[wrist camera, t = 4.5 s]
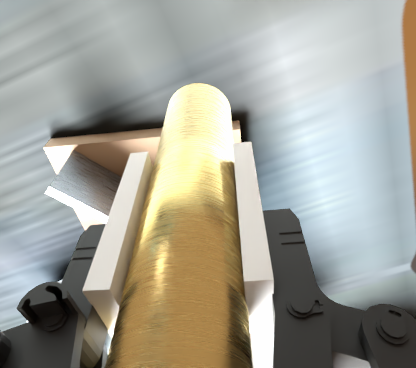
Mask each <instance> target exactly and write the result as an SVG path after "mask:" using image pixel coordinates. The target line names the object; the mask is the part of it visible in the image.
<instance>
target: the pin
mask: <svg viewBox="0 0 416 368" xmlns="http://www.w3.org/2000/svg"><path fill="white" fill-rule="evenodd" d="M233 143H234V142H233V130H232V118H231V108H230V104H229V102H228V100H227V98H226V96H225V95H224V94H223V93H222V92H221V91H220V90H218V89H217V88H215V87H213V86H211V85H208V84H204V83H193V84H189V85H186V86H184V87H182V88H180V89H179V90H177V91H176V92H175V93H174V94H173V96H172V97H171V99H170V101H169V104H168V108H167V112H166V116H165V120H164V125H163V129H162V133H161V137H160V141H159V145H158V149H157V154H156V158H155V162H154V166H153V170H152V174H151V178H150V182H149V187H148V191H147V195H146V199H145V203H144V207H143V211H142V216H141V220H140V224H139V228H138V232H137V236H136V240H135V245H134V249H133V253H132V257H131V261H130V265H129V269H128V274H127V278H126V282H125V286H124V290H123V294H122V298H121V303H120V307H119V311H118V315H117V319H116V323H115V327H114V332H113V336H112V340H111V344H110V348H109V352H108V356H107V360H106V365H105V368H253V362H252V350H251V339H250V327H249V316H248V307H247V304H246V300H245V289H244V277H243V265H242V253H241V240H240V228H239V215H238V203H237V191H236V178H235V166H234V154H233Z"/></svg>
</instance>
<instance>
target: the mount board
mask: <svg viewBox="0 0 416 368" xmlns="http://www.w3.org/2000/svg"><path fill="white" fill-rule="evenodd" d="M162 129H163V128H156V129H145V130H135V131H125V132H114V133H104V134H93V135H83V136H73V137H62V138H52V139H50V140H49V141H48V142H47V144H46V145H45V146H44V147H43V148H44V150H45V152H46V154H47V156H48V158H49V160H50V162H51V164H52V166H53V168H54V170H55V172H56V174H58V173H59V171H60V169H61V168H62V166H63V165H64V163H65V162H66V160H67V159H68V157H69V156H70V154H71V153H72V151H73V150H75V151H77V152H79V153H81V154H82V155H84V156H86V157H87V158H89V159H91V160H93V161H94V162H96V163H98V164H100V165H101V166H103V167H105V168H107V169H108V170H110V171H112V172H114V173H115V174H117V175H119V176H121V177H122V176H123V173H124V170H125V167H126V165H127V162H128V159H129V156H130V153H138V152H148V153H149V157H150V160H151V164H152V167H153V166H154V162H155V158H156V154H157V149H158V145H159V141H160V137H161V133H162ZM232 130H233V142H234V143H241V133H240V122H239V121H232ZM74 210H75V212H76V214H77V216H78V218H79V220H80V222H81V224H82V226H83V228H84V230H85V231H86V229H87V228H88V227H89V226H90V225H97V224H105V223H103V222H101V221H99V220H97V219H95V218H93V217H91V216H89V215H87V214H85V213H83V212H81V211H79V210H77V209H75V208H74Z"/></svg>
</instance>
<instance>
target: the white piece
mask: <svg viewBox="0 0 416 368" xmlns="http://www.w3.org/2000/svg"><path fill="white" fill-rule="evenodd" d="M121 179H122V177H121V176H119V175H117V174H115V173H114V172H112V171H110V170H108V169H107V168H105V167H103V166H101V165H100V164H98V163H96V162H94V161H93V160H91V159H89V158H87V157H86V156H84V155H82V154H81V153H79V152H77V151H75V150H73V151H72V153H71V154H70V156H69V157H68V159H67V160H66V162H65V163H64V165H63V166H62V168H61V169H60V171H59V173H58V174H57V176H56V177H55V179H54V180H53V182H52V183H51V185H50V186H49V188H48V190H47V191H46V194H48V195H50V196H52V197H54V198H56V199H58V200H60V201H62V202H64V203H66V204H68V205H70V206H71V207H73V208H75V209H77V210H79V211H81V212H83V213H85V214H87V215H89V216H91V217H93V218H95V219H97V220H99V221H101V222H103V223H105V224H106V222H107V219H108V216H109V213H110V210H111V207H112V204H113V202H114V199H115V196H116V193H117V190H118V187H119V185H120V182H121Z"/></svg>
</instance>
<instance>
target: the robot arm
mask: <svg viewBox="0 0 416 368" xmlns="http://www.w3.org/2000/svg"><path fill="white" fill-rule="evenodd" d="M233 154H234V166H235V178H236V191H237V203H238V215H239V228H240V240H241V253H242V265H243V277H244V289H245V300H246V304H247V307H248V316H249V327H250V333H265V332H273V331H274V350H273V368H416V320H415V319H414V318H413V316H411V315H410V314H408V313H407V312H406V311H404V310H403V309H401V308H398V307H395V306H393V305H387V304H378V305H375V306H372V307H370V308H369V309H368V310H367V311H363V310H359V309H355V308H351V307H347V306H344V305H341V304H338V303H336V302H334V301H332V300H330V299H329V298H328V297H327V296H325V295H324V294H323V293H322V291H321V290H320V289H319V287H318V285H317V283H316V280H315V276H314V273H313V269H312V265H311V262H310V258H309V255H308V251H307V247H306V244H305V240H304V237H303V234H302V229H301V226H300V222H299V219H298V218H297V217H296V215H295V214H294V213H293V212H292V211H291V210H290V209H280V210H267V211H262V204H261V198H260V192H259V186H258V180H257V174H256V168H255V162H254V156H253V149H252V143H251V142H242V143H233ZM152 170H153V167H152V164H151V160H150V157H149V153H148V152H138V153H130V156H129V159H128V162H127V165H126V167H125V170H124V173H123V176H122V179H121V182H120V185H119V187H118V190H117V193H116V196H115V199H114V202H113V204H112V207H111V210H110V213H109V216H108V219H107V222H106V224H97V225H90V226H89V227H88V228H87V229H86V231H85V232H84V233H83V234H82V235H81V236H80V239H79V241H78V244H77V246H76V251H74V253H73V256H72V258H71V259H72V260H71V261H70V263H69V265H68V268H67V270H66V272H65V275H64V277H63V280H62V282H61V283H58V282H46V283H43V284H41V285H38V286H36V287H35V288H33V289H32V290H30V291H29V292H28V293H27V294H26V295H25V296H24V297H23V298H22V299H21V301H20V303H19V305H18V307H17V310H18V311H19V312H20V313H21V314H22V315H23V316H24V317H25V318H26V319H27V321H28V323H25V324H22V325H20V326H17V327H14V328H11V329H8V330H6V331H3V332H1V331H0V368H105V365H106V360H107V356H108V351H107V348H106V346H105V345H104V344H105V340H106V336H107V332H109V334H110V335H111V337H112V336H113V332H114V327H115V323H116V319H117V315H118V311H119V307H120V303H121V298H122V294H123V290H124V286H125V282H126V278H127V274H128V269H129V265H130V261H131V257H132V253H133V249H134V245H135V240H136V236H137V232H138V228H139V224H140V220H141V216H142V211H143V207H144V203H145V199H146V195H147V191H148V187H149V182H150V178H151V174H152Z"/></svg>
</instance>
